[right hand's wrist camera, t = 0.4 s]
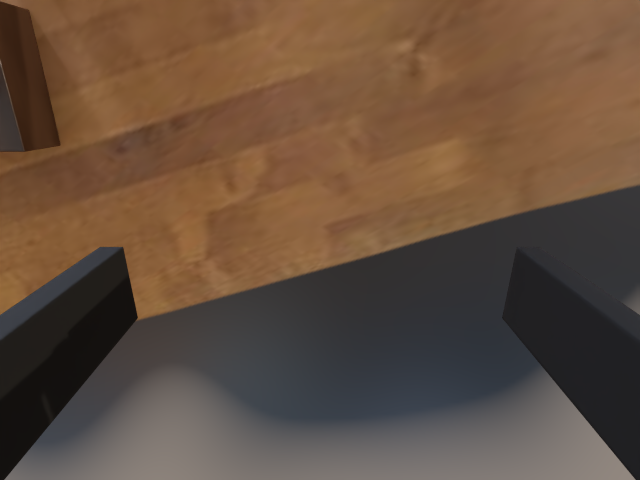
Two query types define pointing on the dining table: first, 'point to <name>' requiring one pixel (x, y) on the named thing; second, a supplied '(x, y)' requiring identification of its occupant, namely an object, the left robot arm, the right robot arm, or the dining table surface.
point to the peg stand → (22, 86)
